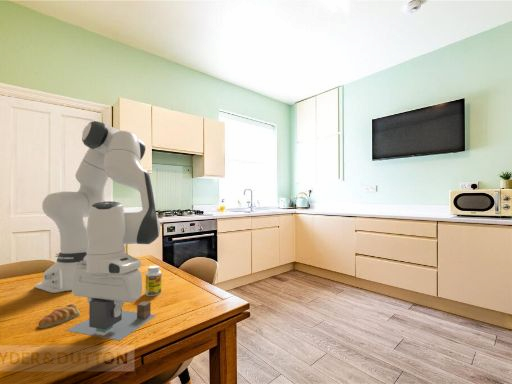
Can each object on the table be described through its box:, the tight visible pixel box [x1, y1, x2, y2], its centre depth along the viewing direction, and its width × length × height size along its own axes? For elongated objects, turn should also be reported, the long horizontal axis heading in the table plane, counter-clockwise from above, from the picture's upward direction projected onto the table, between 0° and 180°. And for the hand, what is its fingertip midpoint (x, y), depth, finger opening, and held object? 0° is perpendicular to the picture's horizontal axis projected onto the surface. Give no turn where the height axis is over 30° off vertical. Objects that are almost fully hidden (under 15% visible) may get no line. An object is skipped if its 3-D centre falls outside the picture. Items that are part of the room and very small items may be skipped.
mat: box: [65, 309, 157, 341], centre depth 71 cm, size 18×14×1 cm
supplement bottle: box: [144, 265, 163, 297], centre depth 93 cm, size 6×6×10 cm
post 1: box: [96, 325, 113, 335], centre depth 66 cm, size 3×3×7 cm
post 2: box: [136, 300, 152, 319], centre depth 74 cm, size 3×3×4 cm
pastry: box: [37, 303, 81, 329], centre depth 73 cm, size 9×7×4 cm
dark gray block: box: [88, 298, 123, 330], centre depth 66 cm, size 5×5×7 cm
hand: (105, 314), depth 66 cm, fingers closed on dark gray block, 5 cm apart
